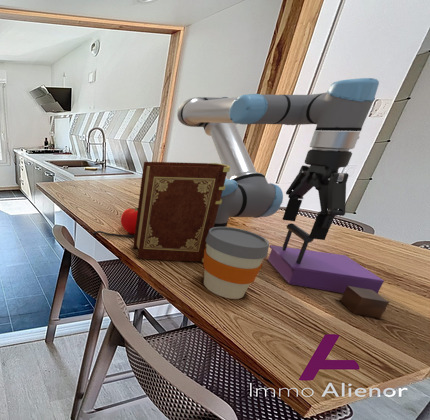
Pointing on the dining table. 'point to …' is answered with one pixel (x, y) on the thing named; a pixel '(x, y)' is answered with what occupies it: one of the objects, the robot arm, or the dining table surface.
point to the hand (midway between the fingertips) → (301, 228)
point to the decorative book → (177, 209)
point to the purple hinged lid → (320, 259)
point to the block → (364, 301)
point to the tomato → (129, 220)
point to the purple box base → (319, 278)
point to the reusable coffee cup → (232, 260)
